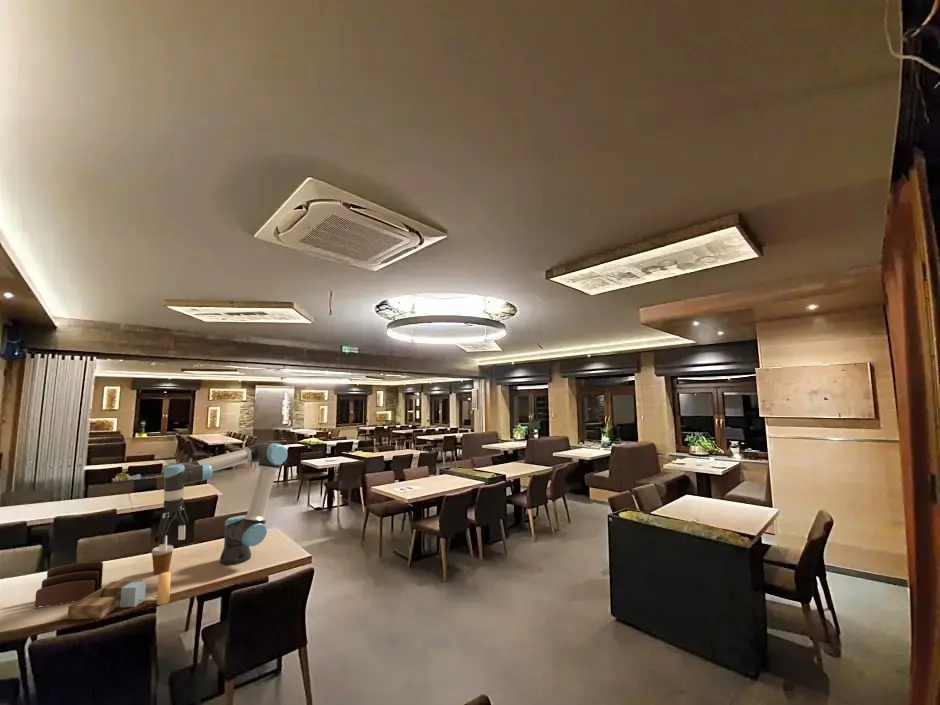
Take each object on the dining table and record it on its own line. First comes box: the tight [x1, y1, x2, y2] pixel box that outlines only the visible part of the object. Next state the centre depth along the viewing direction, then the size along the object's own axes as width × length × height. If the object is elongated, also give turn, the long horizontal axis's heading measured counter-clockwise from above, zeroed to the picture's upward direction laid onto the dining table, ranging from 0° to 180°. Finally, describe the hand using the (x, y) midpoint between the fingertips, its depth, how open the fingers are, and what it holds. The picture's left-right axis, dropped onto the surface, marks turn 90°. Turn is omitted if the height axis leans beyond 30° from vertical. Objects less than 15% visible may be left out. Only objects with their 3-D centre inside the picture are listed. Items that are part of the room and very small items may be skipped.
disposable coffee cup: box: [150, 544, 175, 575], centre depth 212 cm, size 10×10×12 cm
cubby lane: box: [67, 580, 144, 620], centre depth 179 cm, size 13×22×5 cm, turn 3°
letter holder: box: [34, 560, 104, 608], centre depth 185 cm, size 10×20×14 cm, turn 116°
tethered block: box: [119, 571, 172, 608], centre depth 180 cm, size 18×6×12 cm, turn 93°
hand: (172, 545), depth 190 cm, fingers open, 13 cm apart
